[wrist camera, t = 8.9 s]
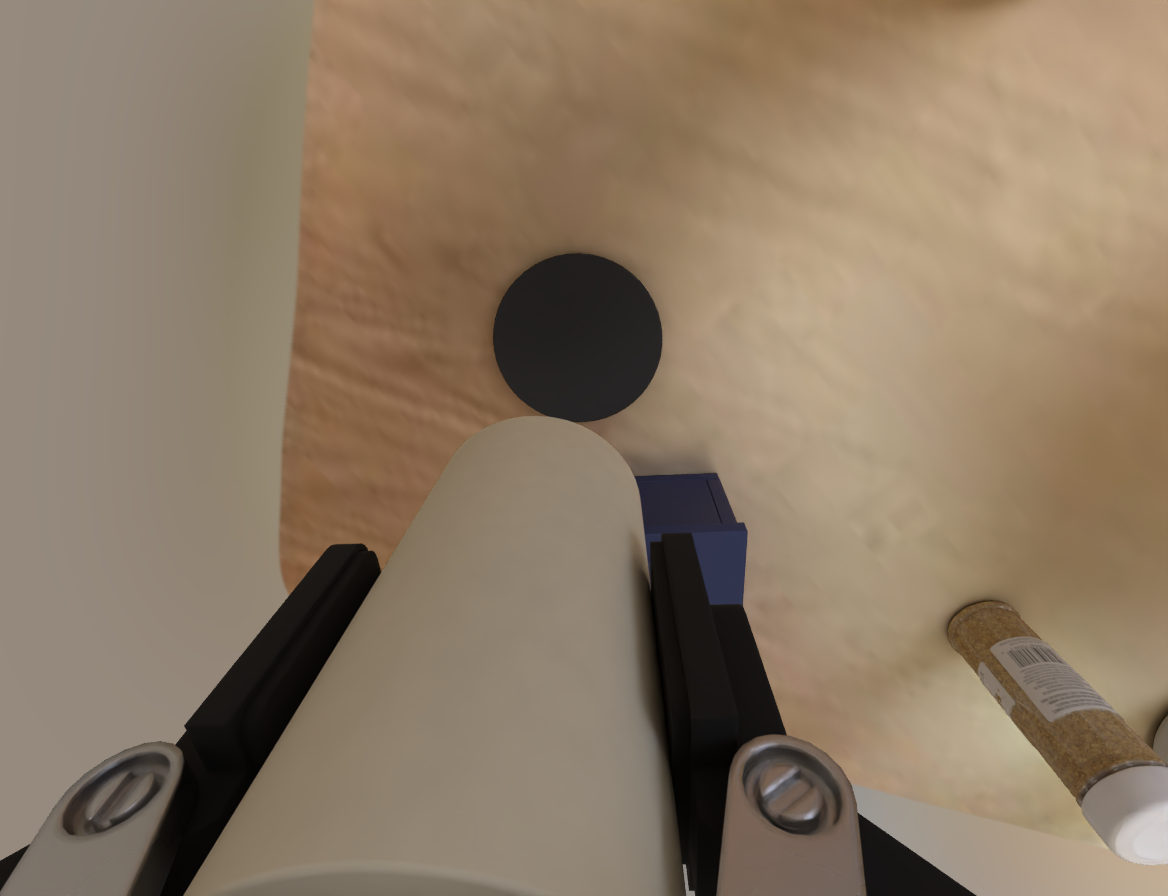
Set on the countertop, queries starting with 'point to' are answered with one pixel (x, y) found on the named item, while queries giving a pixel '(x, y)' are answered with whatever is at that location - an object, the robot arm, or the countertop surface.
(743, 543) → the case lid
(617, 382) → the coaster
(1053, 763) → the sprinkles bottle
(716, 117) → the countertop surface
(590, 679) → the bottle
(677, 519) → the case
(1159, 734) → the cylinder vase
